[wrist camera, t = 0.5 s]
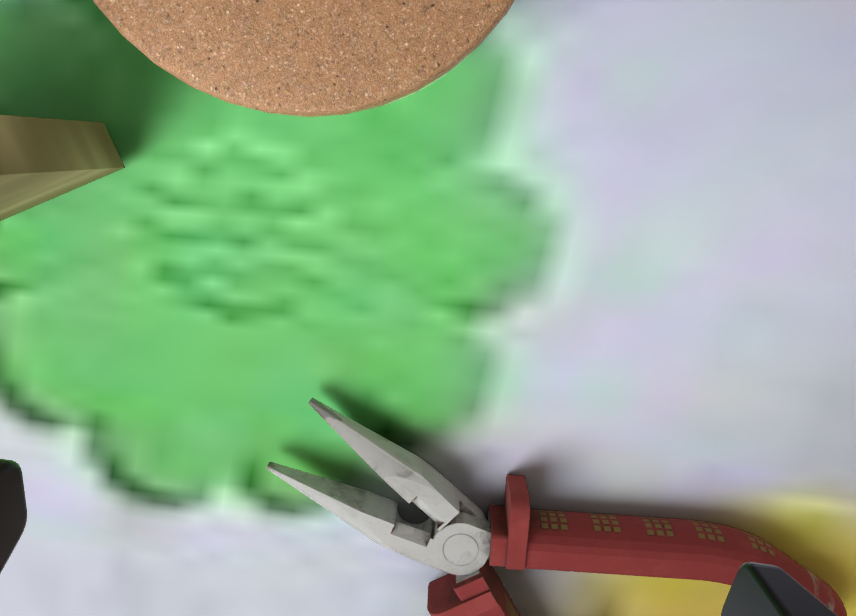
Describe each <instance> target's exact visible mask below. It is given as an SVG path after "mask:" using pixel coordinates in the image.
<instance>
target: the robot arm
mask: <svg viewBox="0 0 856 616" xmlns="http://www.w3.org/2000/svg"><path fill="white" fill-rule="evenodd" d="M26 521H27V508H26V500H25V492H24V485H23V477H22V471H21V468H20V466H19V465H18V463H16V462H14V461H12V460H5V459H0V573H1V571H2V570H3V568H4V566H5V564H6V562H7V561H8V559H9V557H10V555H11V553H12V552H13V550H14V548H15V546H16V544H17V543H18V541H19V539H20V537H21V535H22V533H23V531H24V528H25V525H26ZM721 616H838V615H837V614H835V613H834V612H833V611H832V610H831V609H829V608H828V607H827V606H826V605H825V604H823V603H822V602H821V601H820V600H819V599H817V598H816V597H815V596H814V595H813V594H811V593H810V592H809V591H808V590H807V589H805V588H804V587H803V586H802V585H801V584H800V583H798V582H797V581H796V580H795V579H794V578H792V577H791V576H790V575H789V574H788V573H786V572H785V571H784V570H783V569H781V568H780V567H778V566H775V565H769V564H762V563H754V562H746V563H744V564H742V565H741V566H740V568H739V569H738V571H737V574H736V576H735V579H734V581H733V584H732V586H731V589H730V591H729V594H728V596H727V599H726V601H725V604H724V606H723V609H722V614H721Z"/></svg>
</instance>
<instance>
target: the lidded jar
mask: <svg viewBox="0 0 856 616" xmlns="http://www.w3.org/2000/svg"><path fill="white" fill-rule="evenodd" d="M93 1H94V3H95V4H96V5H97V6H98V8H99V9H100V10H101V11H102V12H103V13H104V15H105V16H106V17H107V18H108V19H109V20H110V22H111V23H112V24H113V25H114V26H115V27H116V28H117V30H118V31H119V32H120V33H121V34H122V35H123V37H125V38H126V39H127V40H128V41H129V42H130V43H132V44H133V45H134V46H135V47H136V48H137V49H139V50H140V51H141V52H142V53H143V54H144V55H145V56H147V57H148V58H149V59H150V60H151V61H152V62H154V63H155V64H156V65H158V66H159V67H161V68H162V69H164V70H166V71H167V72H169V73H170V74H172V75H173V76H175V77H177V78H178V79H180V80H181V81H183V82H184V83H186V84H188V85H189V86H191V87H193V88H196V89H198V90H200V91H203V92H205V93H207V94H209V95H212V96H214V97H216V98H219V99H221V100H223V101H225V102H229V103H232V104H236V105H240V106H244V107H248V108H251V109H255V110H259V111H263V112H267V113H274V114H285V115H295V116H306V117H313V116H327V115H342V114H349V113H353V112H359V111H363V110H367V109H371V108H376V107H380V106H384V105H388V104H391V103H393V102H395V101H398V100H400V99H403V98H405V97H407V96H410V95H412V94H415V93H417V92H419V91H421V90H422V89H424V88H425V87H427V86H429V85H430V84H432V83H433V82H435V81H437V80H438V79H440V78H441V77H443V76H445V75H446V74H447V73H449V72H450V71H451V70H452V69H453V68H454V67H456V66H457V65H458V64H459V63H460V62H461V61H462V60H464V59H465V58H466V57H467V56H468V55H469V54H471V53H472V52H473V50H474V49H476V48H477V47H478V46H479V45H480V44H481V43H482V42H483V41H484V39H485V38H486V37H487V36H488V35H489V33H490V32H491V31H492V30H493V29H494V28H495V26H496V25H497V24H498V23H499V22H500V20H501V19H502V18H503V17H504V16H505V15H506V13H507V12H508V10H509V8H510V7H511V5H512V4H513V2H514V0H93Z"/></svg>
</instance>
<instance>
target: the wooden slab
mask: <svg viewBox="0 0 856 616" xmlns="http://www.w3.org/2000/svg"><path fill="white" fill-rule="evenodd" d="M123 168H125V166H124V164H123V162H122V160H121V158H120V156H119V154H118V152H117V150H116V147H115V145H114V143H113V141H112V139H111V137H110V135H109V133H108V131H107V129H106V127H105V125H104V123H103V122H92V121H79V120H65V119H51V118H38V117H24V116H11V115H0V221H1V220H3V219H6V218H8V217H10V216H13V215H15V214H17V213H20V212H22V211H24V210H27V209H29V208H31V207H34V206H36V205H38V204H41V203H43V202H45V201H48V200H50V199H52V198H55V197H57V196H59V195H62V194H64V193H66V192H69V191H71V190H73V189H76V188H78V187H80V186H83V185H85V184H88V183H90V182H92V181H95V180H97V179H99V178H102V177H104V176H106V175H109V174H111V173H113V172H116V171H118V170H120V169H123Z"/></svg>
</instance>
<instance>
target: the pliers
mask: <svg viewBox="0 0 856 616" xmlns="http://www.w3.org/2000/svg"><path fill="white" fill-rule="evenodd" d="M309 404H310V405H311V406H312V407H313V408H314V409H315V410H316V411H317V412H318V413H319V415H320V416H321V417H322V418H323V419H324V420H325V421H326V422H327V423H328V424H329V425H330V426H331V427H332V428H333V429H334V430H335V431H336V432H337V433H338V434H339V435H340V436H341V437H342V438H343V439H344V440H345V441H346V442H347V443H348V444H349V445H350V446H351V447H352V448H353V449H354V450H355V451H356V452H357V454H358V455H359V456H360V457H361V458H362V459H363V460H364V461H365V462H366V463H367V464H368V465H369V466H370V467H371V468H372V469H373V470H374V471H375V472H376V473H377V474H378V475H379V476H380V477H381V478H382V479H383V480H384V481H385V482H386V483H387V484H388V485H389V486H390V487H392V488H393V489H394V490H395V491H396V492H397V493H398V494H399V495H400V496H401V497H402V498H403V499H404V500H406V501H407V502H408V503H409V504H410V503H411V502H414V503H415V504H416V505H417V506H418V507H419V508H420V509H421V510H422V511H424V512H425V513H426V514H427V515H428V516H429V517H430V518H429V519H428V520H427V521H425V522H423V523H420V524H411V523H408V522H406V521H404V520H403V519H402V518H401V517H400V516H399V514H398V511H397V507H398V502H396V501H394V500H391V499H388V498H386V497H383V496H380V495H378V494H375V493H372V492H370V491H367V490H364V489H361V488H357V487H354V486H351V485H347V484H344V483H341V482H337V481H334V480H330V479H327V478H324V477H320V476H317V475H313V474H310V473H307V472H303V471H300V470H296V469H293V468H290V467H286V466H283V465H279V464H276V463H273V462H269V464H268V466H267V468H266V469H268V470H269V471H271V472H272V473H274V474H275V475H277V476H278V477H280V478H281V479H283V480H284V481H286V482H287V483H289V484H290V485H291V486H293V487H294V488H296V489H297V490H299V491H300V492H302V493H303V494H305V495H306V496H308V497H309V498H311V499H312V500H314V501H315V502H316V503H318V504H319V505H321V506H322V507H324V508H325V509H327V510H328V511H330V512H331V513H333V514H334V515H336V516H337V517H338V518H340V519H341V520H343V521H344V522H346V523H347V524H349V525H350V526H352V527H353V528H355V529H356V530H358V531H359V532H361V533H362V534H363V535H365V536H366V537H368V538H370V539H371V540H373V541H374V542H376V543H378V544H380V545H382V546H384V547H386V548H388V549H390V550H393V551H395V552H397V553H399V554H401V555H404V556H406V557H408V558H411V559H413V560H416V561H418V562H421V563H423V564H426V565H429V566H431V567H434V568H437V569H440V570H442V571H445V572H448V573H450V574H448V575H445V576H443V577H441V578H439V579H436V580H434V581H432V582H430V583H429V586H428V605H427V608H428V611H429V613H430V615H431V616H520V614H519V612H518V610H517V609H516V607H515V605H514V603H513V602H512V600H511V598H510V596H509V594H508V593H507V591H506V589H505V587H504V586H503V584H502V582H501V580H500V579H499V577H498V575H497V573H496V571H495V570H494V568H493V566H500V567H506V569H513V570H525V568H530V569H545V570H559V571H574V572H589V573H604V574H619V575H633V576H648V577H663V578H678V579H693V580H704V581H712V582H718V583H723V584H728V585H732V584H733V581H734V579H735V576H736V574H737V571H738V569H739V568H740V566H741V565H742V564H744V563H746V562H754V563H762V564H769V565H775V566H778V567H780V568H781V569H783V570H784V571H785V572H786V573H788V574H789V575H790V576H791V577H792V578H794V579H795V580H796V581H797V582H798V583H800V584H801V585H802V586H803V587H804V588H805V589H807V590H808V591H809V592H810V593H811V594H813V595H814V596H815V597H816V598H817V599H819V600H820V601H821V602H822V603H823V604H825V605H826V606H827V607H828V608H829V609H831V610H832V611H833V612H834V613H835V614H837V615H838V616H847V613H846V610H845V607H844V605H843V603H842V601H841V599H840V597H839V596H838V594H837V593H836V592H835V591H834V590H833V589H832V588H831V587H830V586H829V585H828V584H827V583H826V582H824V581H823V580H821V579H820V578H818V577H817V576H815V575H814V574H812V573H811V572H810V571H808V570H807V569H805V568H804V567H802V566H801V565H800V564H798V563H797V562H795V561H794V560H792V559H791V558H790V557H788V556H787V555H785V554H784V553H782V552H781V551H780V550H778V549H777V548H775V547H774V546H772V545H771V544H770V543H768V542H767V541H765V540H764V539H762V538H760V537H757V536H755V535H752V534H750V533H747V532H745V531H742V530H740V529H736V528H732V527H728V526H724V525H719V524H714V523H709V522H703V521H696V520H688V519H673V518H658V517H642V516H627V515H612V514H597V513H582V512H567V511H552V510H537V509H530V499H529V493H528V488H527V484H526V479H525V476H522V475H507V477H506V488H505V499H504V505H489V510H488V520H487V518H486V516H485V514H484V512H483V511H482V510H481V509H480V508H479V507H478V506H477V505H475V504H474V503H473V502H472V501H471V500H470V499H469V498H468V497H466V496H465V495H464V494H463V493H462V492H461V491H460V490H458V489H457V488H456V487H455V486H454V485H453V484H452V483H451V482H450V481H448V480H447V479H446V478H445V477H444V476H442V475H441V474H440V473H439V472H438V471H436V470H435V469H434V468H433V467H432V466H430V465H429V464H428V463H427V462H425V461H424V460H422V459H421V458H420V457H418V456H416V455H415V454H413V453H411V452H409V451H407V450H406V449H404V448H402V447H400V446H398V445H397V444H395V443H393V442H391V441H389V440H388V439H386V438H384V437H382V436H380V435H379V434H377V433H375V432H373V431H371V430H370V429H368V428H366V427H364V426H362V425H361V424H359V423H357V422H355V421H353V420H352V419H350V418H348V417H346V416H344V415H343V414H341V413H339V412H337V411H335V410H334V409H332V408H330V407H328V406H326V405H325V404H323V403H321V402H319V401H317V400H316V399H314V398H312V399H311V400H310V401H309ZM488 556H489V560H488Z"/></svg>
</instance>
